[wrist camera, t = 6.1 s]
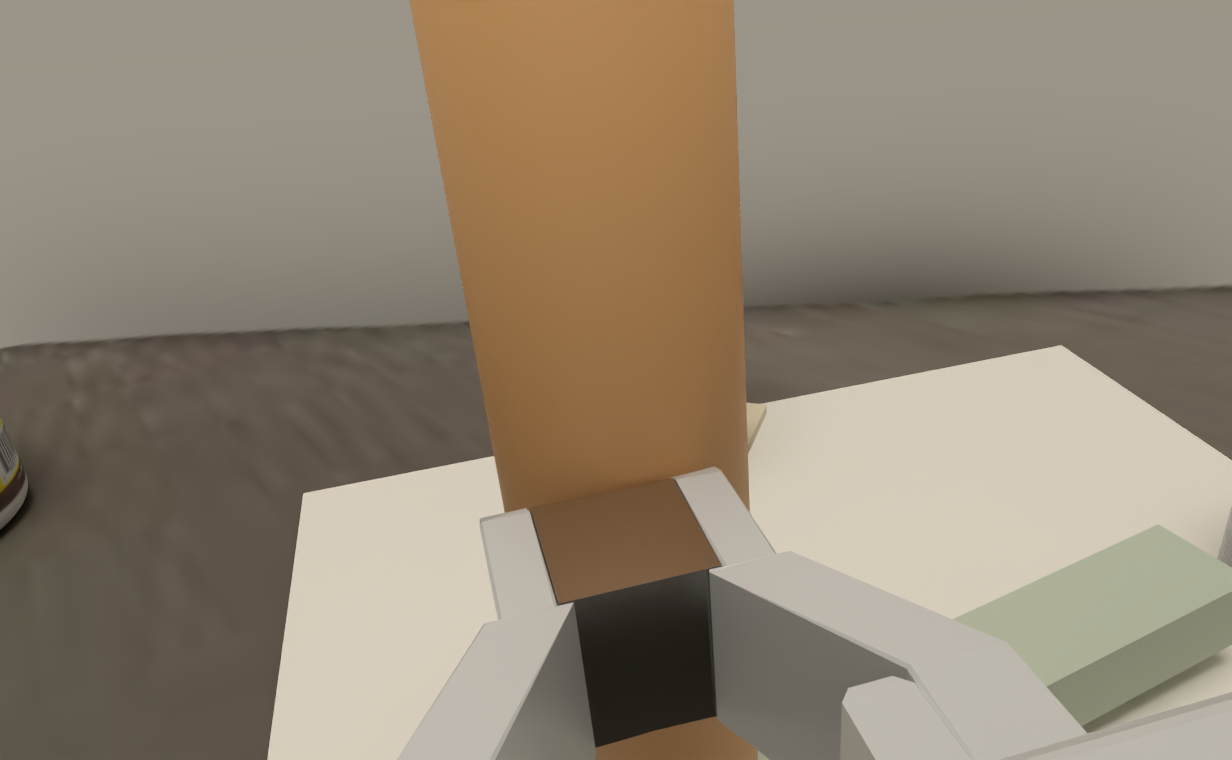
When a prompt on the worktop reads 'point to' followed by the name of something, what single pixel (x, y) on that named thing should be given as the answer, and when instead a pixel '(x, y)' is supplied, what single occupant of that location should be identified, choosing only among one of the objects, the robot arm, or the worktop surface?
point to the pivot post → (1227, 543)
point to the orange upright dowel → (688, 315)
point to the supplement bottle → (10, 479)
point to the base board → (770, 530)
